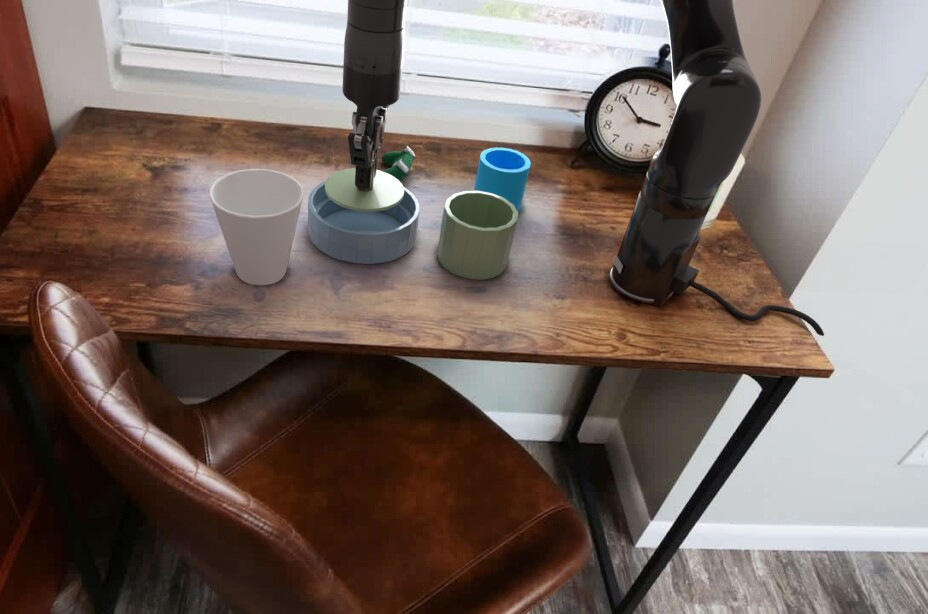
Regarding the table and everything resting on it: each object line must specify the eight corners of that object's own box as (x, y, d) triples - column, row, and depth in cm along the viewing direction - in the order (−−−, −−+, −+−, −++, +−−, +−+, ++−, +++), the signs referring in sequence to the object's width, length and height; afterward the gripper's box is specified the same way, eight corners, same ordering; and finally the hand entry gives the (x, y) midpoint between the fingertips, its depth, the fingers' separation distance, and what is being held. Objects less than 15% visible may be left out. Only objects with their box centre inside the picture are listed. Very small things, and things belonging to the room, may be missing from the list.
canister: (509, 246, 108) (520, 198, 103) (503, 285, 100) (514, 236, 95) (443, 233, 109) (450, 185, 103) (432, 271, 101) (439, 221, 96)
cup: (210, 251, 99) (201, 172, 91) (293, 241, 103) (292, 164, 95) (224, 303, 91) (216, 221, 83) (314, 290, 95) (314, 211, 87)
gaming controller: (382, 197, 118) (409, 179, 115) (368, 179, 117) (395, 161, 114) (394, 171, 125) (420, 154, 122) (381, 155, 124) (407, 137, 120)
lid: (410, 182, 105) (414, 145, 101) (394, 222, 97) (398, 182, 93) (336, 168, 106) (338, 130, 102) (314, 206, 98) (315, 166, 94)
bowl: (437, 238, 108) (441, 207, 104) (363, 280, 98) (365, 248, 94) (361, 195, 115) (362, 164, 111) (285, 231, 105) (284, 199, 101)
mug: (523, 219, 114) (533, 174, 109) (473, 215, 114) (481, 169, 108) (515, 182, 123) (525, 139, 118) (469, 178, 123) (476, 134, 117)
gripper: (390, 86, 83) (380, 211, 95) (412, 46, 94) (400, 164, 105) (329, 74, 84) (326, 201, 95) (358, 37, 94) (352, 155, 106)
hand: (365, 181), depth 100 cm, fingers closed on lid, 2 cm apart
